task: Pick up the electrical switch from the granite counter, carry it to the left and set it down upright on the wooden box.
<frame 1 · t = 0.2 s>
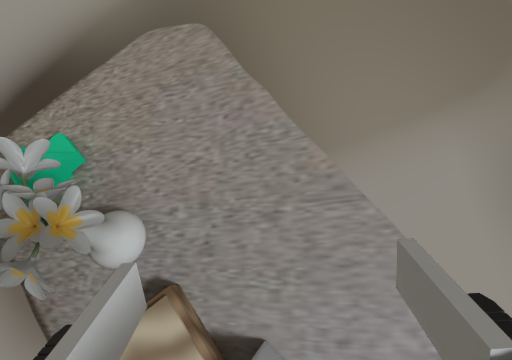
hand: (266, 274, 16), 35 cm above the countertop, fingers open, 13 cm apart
wooden box: (164, 352, 48), on the countertop
flower vase: (124, 239, 54), on the countertop
camera mount: (55, 170, 60), on the countertop
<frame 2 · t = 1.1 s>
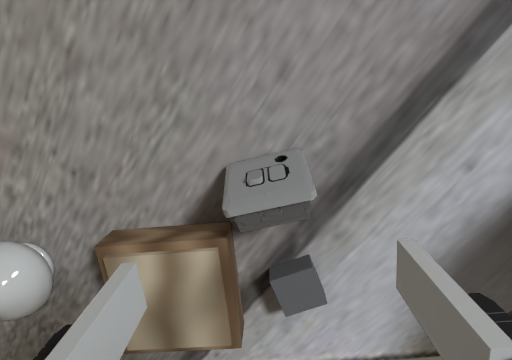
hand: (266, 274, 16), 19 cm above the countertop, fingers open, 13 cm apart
wooden box: (180, 278, 38), on the countertop
electrical switch: (270, 175, 34), on the countertop
flower vase: (27, 266, 39), on the countertop
rubber block: (296, 277, 38), on the countertop
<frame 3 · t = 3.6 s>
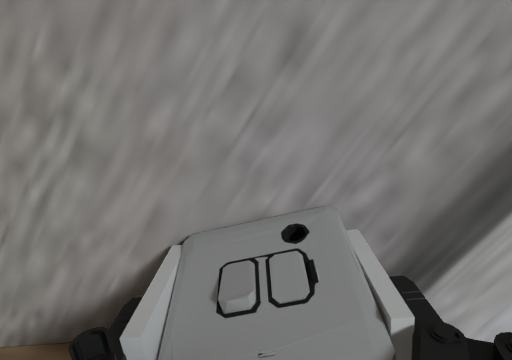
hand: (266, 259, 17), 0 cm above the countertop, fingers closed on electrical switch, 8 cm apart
electrical switch: (271, 253, 18), on the countertop, touching gripper
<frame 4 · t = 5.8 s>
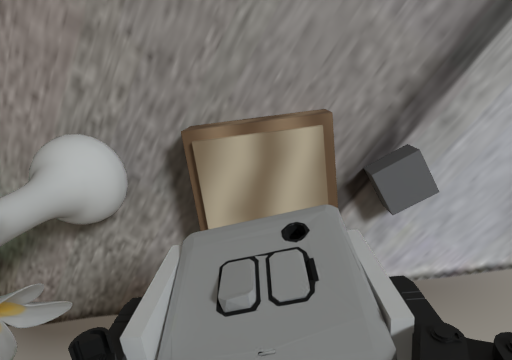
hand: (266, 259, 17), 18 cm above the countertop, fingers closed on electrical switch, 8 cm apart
wooden box: (264, 181, 35), on the countertop
electrical switch: (272, 252, 18), point 17 cm above the countertop, touching gripper
flower vase: (94, 174, 35), on the countertop
rubber block: (394, 175, 34), on the countertop
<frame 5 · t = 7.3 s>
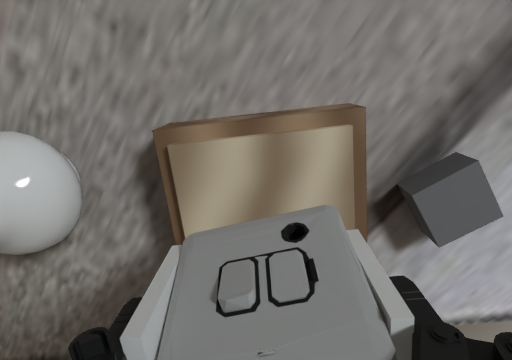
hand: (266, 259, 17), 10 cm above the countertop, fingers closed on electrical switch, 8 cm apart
wooden box: (267, 198, 26), on the countertop
electrical switch: (271, 252, 18), point 9 cm above the countertop, touching gripper
flower vase: (41, 185, 27), on the countertop
rubber block: (436, 192, 26), on the countertop
when the fingers open (6 cm above the countertop, at t = 8.4 s): electrical switch drops 1 cm, resting on wooden box.
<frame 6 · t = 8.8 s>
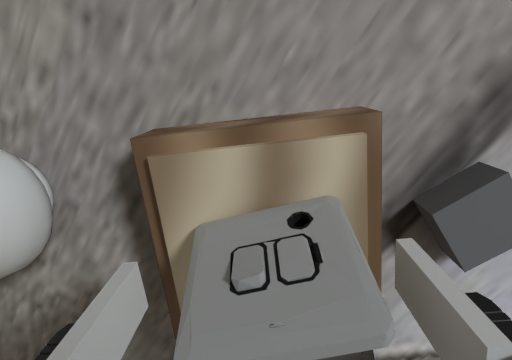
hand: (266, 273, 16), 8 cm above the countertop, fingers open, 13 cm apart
wooden box: (265, 213, 23), on the countertop
electrical switch: (277, 241, 19), point 4 cm above the countertop, touching wooden box
flower vase: (9, 199, 24), on the countertop
rubber block: (458, 207, 23), on the countertop
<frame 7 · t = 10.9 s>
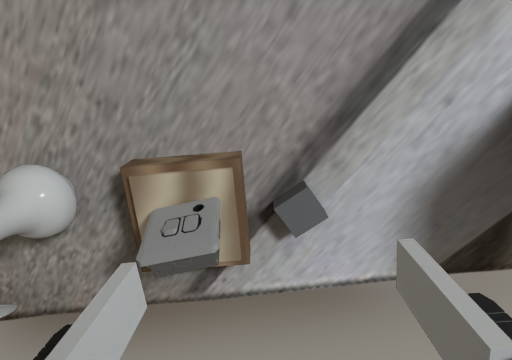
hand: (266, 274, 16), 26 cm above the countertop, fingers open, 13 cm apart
wooden box: (194, 206, 42), on the countertop
electrical switch: (193, 219, 38), point 4 cm above the countertop, touching wooden box
flower vase: (49, 195, 42), on the countertop
rubber block: (298, 204, 43), on the countertop
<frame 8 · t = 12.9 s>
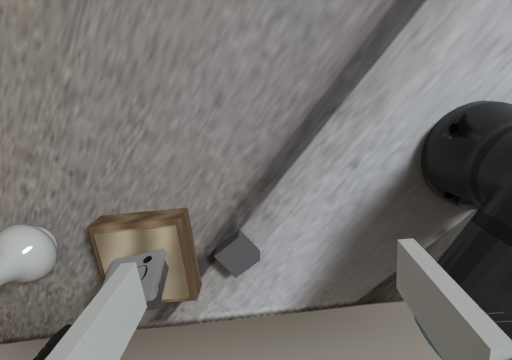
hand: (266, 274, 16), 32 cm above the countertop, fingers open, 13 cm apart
wooden box: (152, 251, 52), on the countertop
electrical switch: (147, 265, 47), point 4 cm above the countertop, touching wooden box
flower vase: (37, 244, 52), on the countertop
rubber block: (238, 248, 51), on the countertop
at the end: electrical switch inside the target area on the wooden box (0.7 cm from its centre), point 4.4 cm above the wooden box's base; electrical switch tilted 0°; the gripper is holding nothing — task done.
